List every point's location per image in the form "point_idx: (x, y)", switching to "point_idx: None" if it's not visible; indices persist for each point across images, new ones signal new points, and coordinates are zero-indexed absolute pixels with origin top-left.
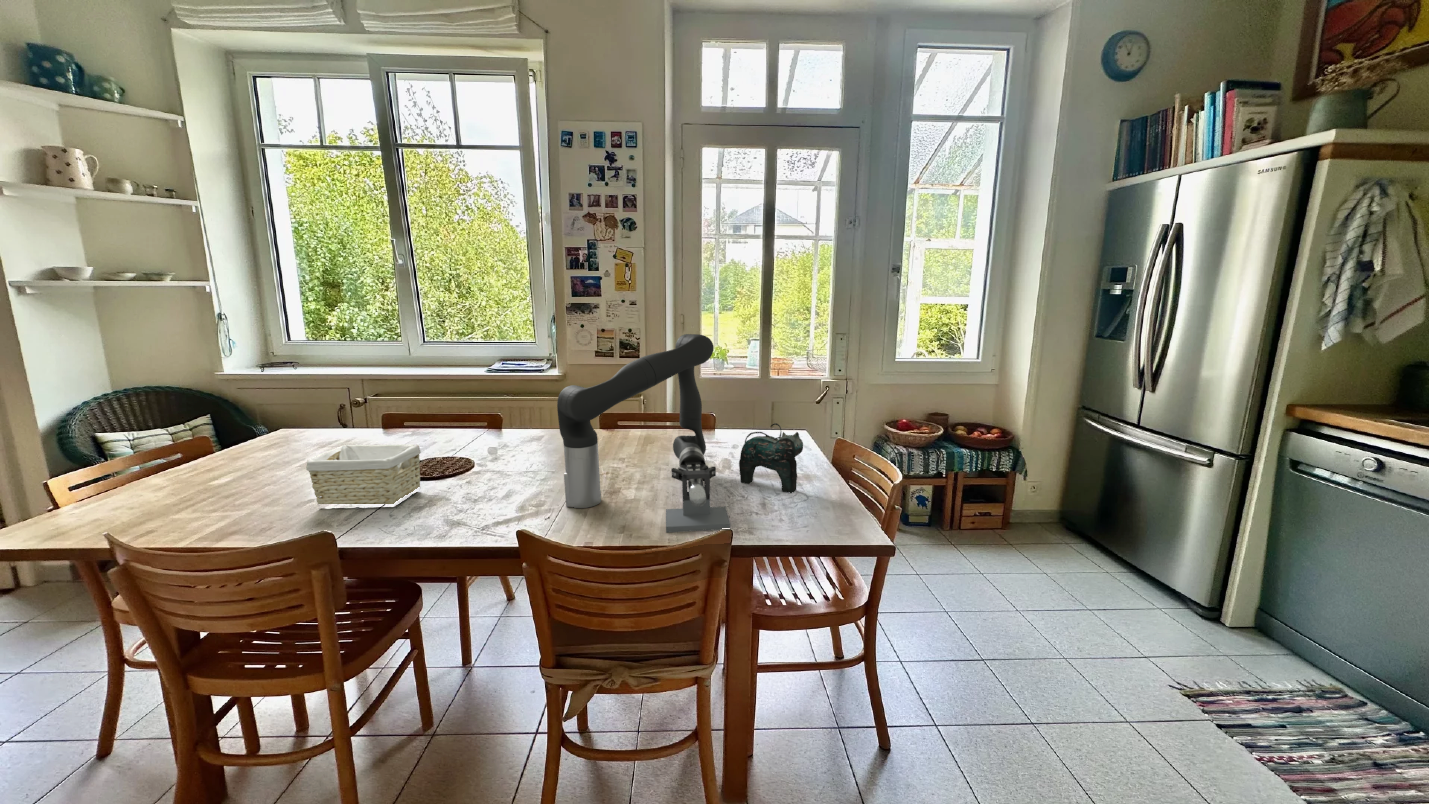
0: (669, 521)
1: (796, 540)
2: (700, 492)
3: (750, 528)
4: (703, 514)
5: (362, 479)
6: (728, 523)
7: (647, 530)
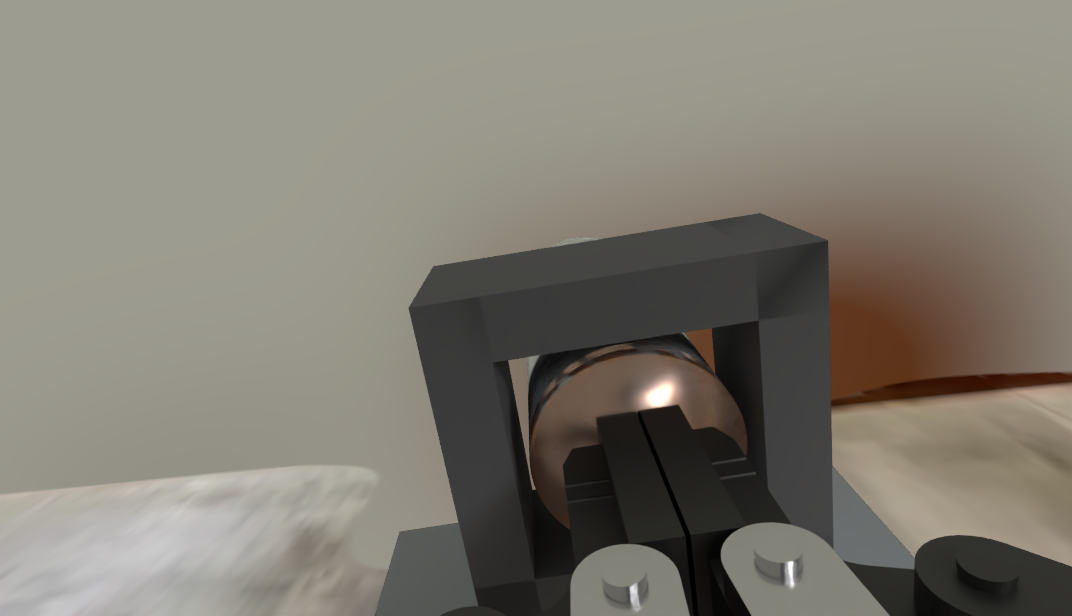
0: (849, 520)
1: (143, 503)
2: None
3: (276, 586)
4: None
5: None
6: (410, 532)
7: (993, 512)
